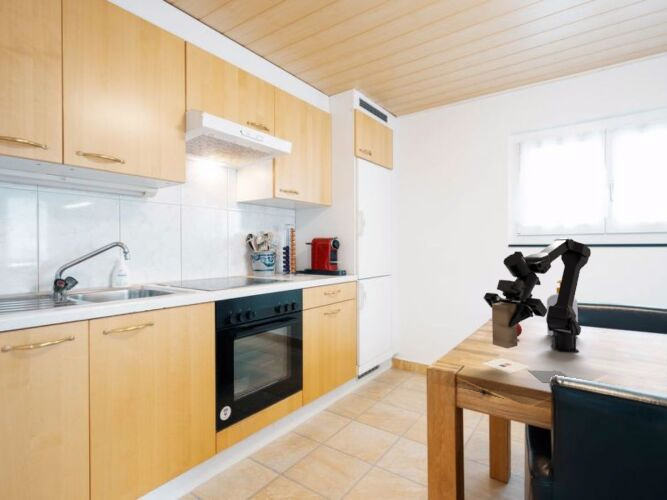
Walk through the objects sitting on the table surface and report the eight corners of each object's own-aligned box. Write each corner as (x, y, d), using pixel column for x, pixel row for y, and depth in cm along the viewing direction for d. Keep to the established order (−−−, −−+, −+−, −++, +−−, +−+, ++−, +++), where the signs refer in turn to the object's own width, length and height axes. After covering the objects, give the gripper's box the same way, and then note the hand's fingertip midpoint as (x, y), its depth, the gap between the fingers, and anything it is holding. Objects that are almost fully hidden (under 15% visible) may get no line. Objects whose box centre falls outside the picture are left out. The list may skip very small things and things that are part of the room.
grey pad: (560, 372, 102) (560, 370, 102) (578, 384, 93) (578, 383, 93) (528, 371, 103) (528, 370, 103) (542, 384, 94) (542, 382, 94)
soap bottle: (579, 336, 139) (578, 280, 139) (571, 339, 135) (570, 281, 135) (554, 332, 147) (553, 279, 147) (547, 335, 143) (546, 280, 143)
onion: (524, 340, 135) (523, 320, 135) (508, 340, 137) (508, 320, 137) (519, 336, 141) (518, 317, 141) (504, 336, 142) (503, 317, 142)
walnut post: (503, 342, 111) (502, 302, 111) (517, 345, 107) (516, 304, 107) (492, 344, 109) (491, 303, 109) (507, 348, 105) (506, 306, 104)
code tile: (501, 359, 115) (501, 357, 115) (530, 368, 106) (530, 366, 106) (481, 364, 110) (481, 363, 110) (509, 374, 101) (509, 373, 101)
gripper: (486, 269, 118) (464, 304, 113) (540, 272, 101) (517, 313, 96) (501, 289, 122) (481, 324, 117) (556, 296, 105) (535, 337, 100)
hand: (501, 324), depth 107 cm, fingers closed on walnut post, 5 cm apart
